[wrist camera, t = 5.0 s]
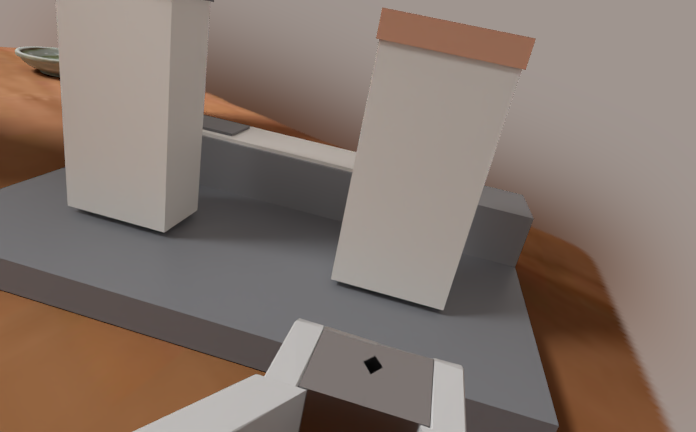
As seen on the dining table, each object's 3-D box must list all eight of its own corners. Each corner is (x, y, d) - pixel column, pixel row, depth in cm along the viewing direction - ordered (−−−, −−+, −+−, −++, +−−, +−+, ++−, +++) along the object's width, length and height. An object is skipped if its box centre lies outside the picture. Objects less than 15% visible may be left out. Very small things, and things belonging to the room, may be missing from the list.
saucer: (118, 74, 60) (117, 55, 59) (103, 88, 52) (103, 66, 51) (32, 62, 57) (31, 42, 56) (2, 75, 49) (0, 51, 48)
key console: (-102, 258, 19) (-128, 143, 17) (140, 161, 33) (141, 94, 31) (542, 457, 16) (600, 345, 14) (498, 254, 30) (523, 186, 28)
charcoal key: (165, 233, 21) (173, -35, 17) (64, 205, 22) (47, -61, 17) (200, 210, 24) (215, -24, 20) (110, 185, 24) (106, -47, 20)
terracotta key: (445, 312, 19) (535, 38, 15) (328, 279, 20) (382, 7, 16) (446, 276, 22) (521, 38, 18) (343, 248, 23) (393, 12, 19)
